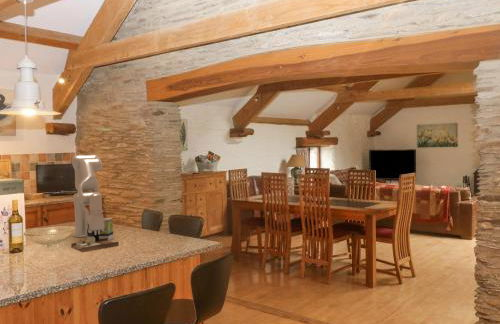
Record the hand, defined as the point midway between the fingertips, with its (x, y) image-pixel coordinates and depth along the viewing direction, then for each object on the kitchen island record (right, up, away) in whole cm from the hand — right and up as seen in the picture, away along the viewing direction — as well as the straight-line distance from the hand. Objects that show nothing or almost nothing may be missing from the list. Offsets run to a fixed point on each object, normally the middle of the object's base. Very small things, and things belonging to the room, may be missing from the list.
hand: (96, 240), depth 297 cm
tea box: (-4, -3, +20) cm, 21 cm away
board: (-1, -4, 0) cm, 4 cm away
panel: (-4, -3, -4) cm, 6 cm away
